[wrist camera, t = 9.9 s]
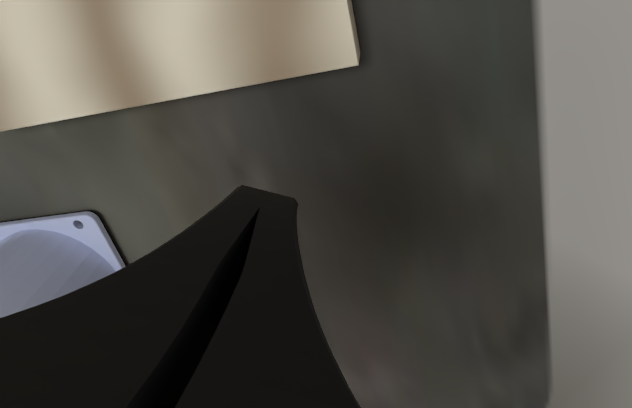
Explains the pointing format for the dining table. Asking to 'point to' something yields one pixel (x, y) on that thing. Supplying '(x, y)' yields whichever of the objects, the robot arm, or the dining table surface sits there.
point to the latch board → (158, 51)
